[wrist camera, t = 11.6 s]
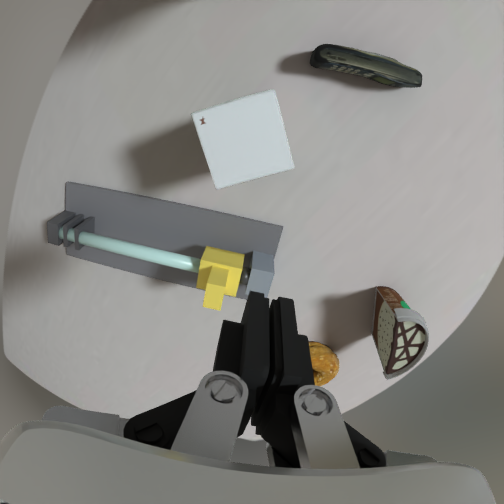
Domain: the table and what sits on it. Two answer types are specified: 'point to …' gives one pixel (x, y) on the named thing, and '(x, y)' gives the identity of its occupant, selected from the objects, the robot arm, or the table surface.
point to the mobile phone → (365, 65)
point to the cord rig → (161, 236)
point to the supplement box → (244, 139)
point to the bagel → (323, 363)
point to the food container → (397, 333)
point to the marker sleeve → (219, 275)
